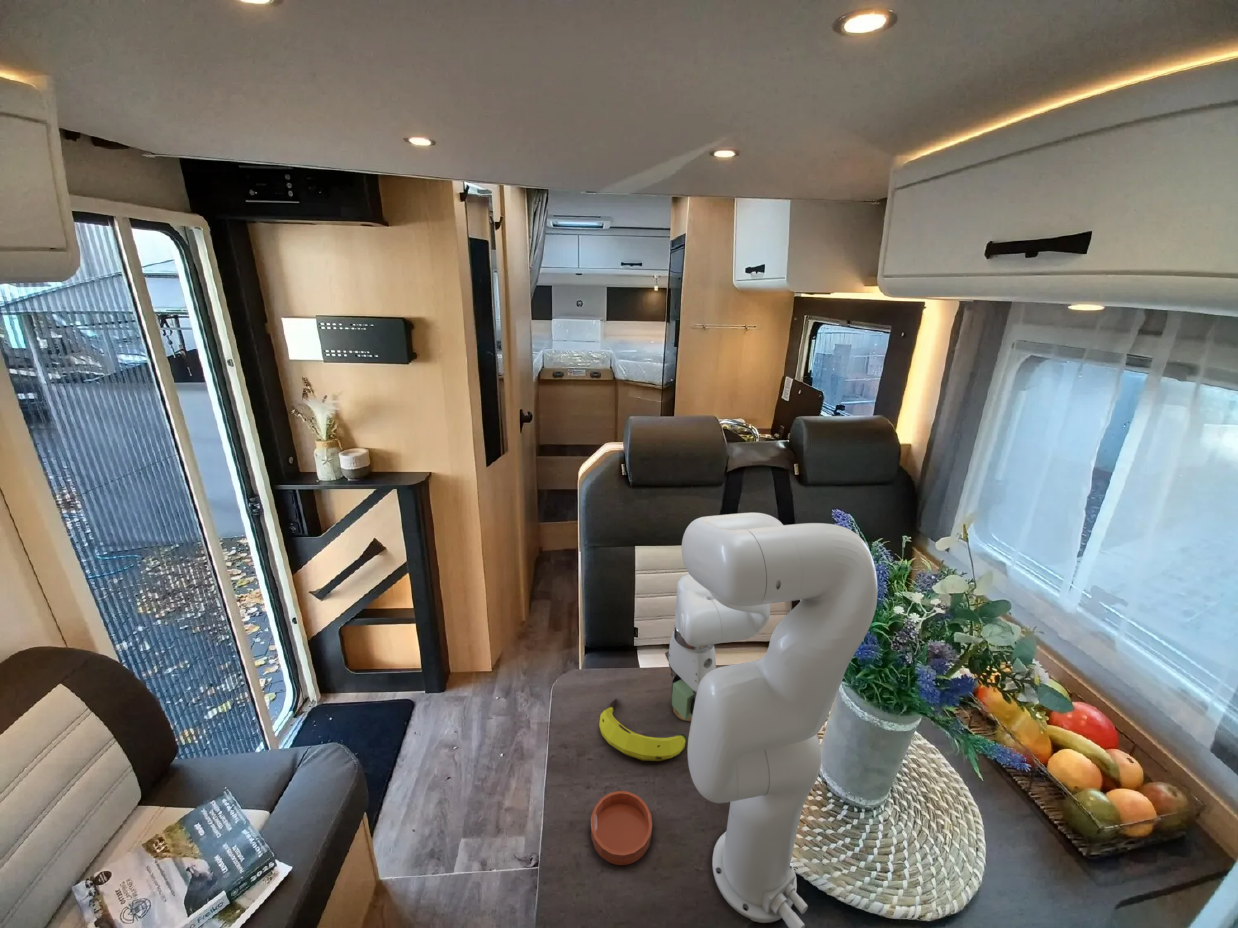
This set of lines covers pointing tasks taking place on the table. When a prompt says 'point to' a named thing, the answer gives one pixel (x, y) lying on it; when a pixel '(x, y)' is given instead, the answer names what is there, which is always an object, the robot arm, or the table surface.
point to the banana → (638, 740)
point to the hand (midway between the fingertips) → (687, 700)
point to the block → (682, 698)
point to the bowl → (621, 827)
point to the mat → (681, 716)
